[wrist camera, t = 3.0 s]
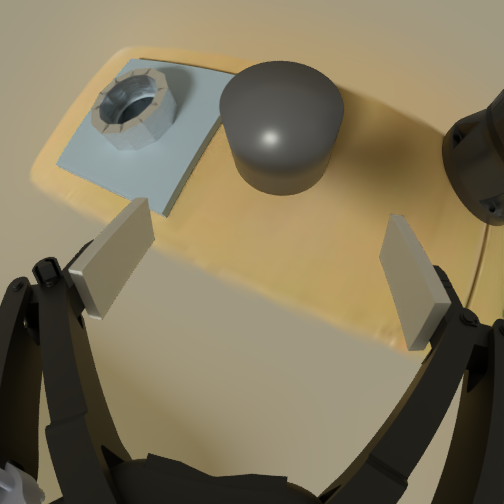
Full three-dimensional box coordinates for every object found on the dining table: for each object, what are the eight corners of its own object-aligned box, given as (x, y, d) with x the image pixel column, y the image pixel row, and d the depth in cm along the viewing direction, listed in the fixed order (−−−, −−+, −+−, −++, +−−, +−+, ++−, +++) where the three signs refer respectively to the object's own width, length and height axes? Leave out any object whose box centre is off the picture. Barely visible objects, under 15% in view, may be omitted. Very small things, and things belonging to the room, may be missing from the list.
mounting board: (246, 85, 34) (245, 77, 32) (166, 217, 31) (161, 213, 30) (134, 64, 37) (131, 58, 35) (61, 168, 34) (55, 164, 33)
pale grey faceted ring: (184, 129, 31) (173, 108, 27) (110, 163, 32) (92, 147, 27) (169, 78, 33) (159, 57, 29) (105, 108, 34) (90, 91, 29)
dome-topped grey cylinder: (336, 193, 30) (365, 133, 18) (255, 221, 30) (242, 171, 19) (302, 125, 32) (310, 52, 20) (228, 149, 32) (205, 79, 20)
